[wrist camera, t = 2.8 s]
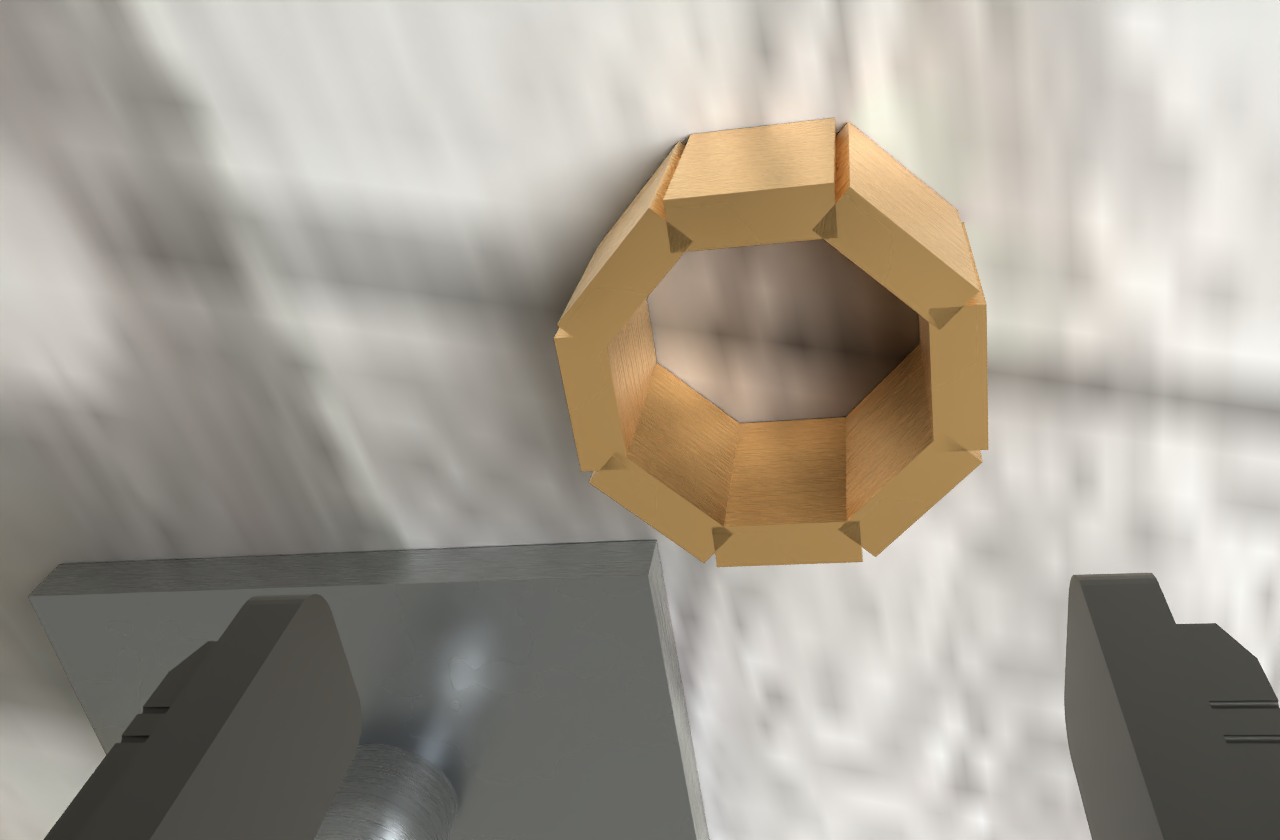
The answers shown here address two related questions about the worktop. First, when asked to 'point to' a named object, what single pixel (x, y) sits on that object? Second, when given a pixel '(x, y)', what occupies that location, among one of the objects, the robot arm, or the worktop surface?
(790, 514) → the collar
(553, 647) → the grey square base
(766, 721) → the worktop surface
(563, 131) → the worktop surface
